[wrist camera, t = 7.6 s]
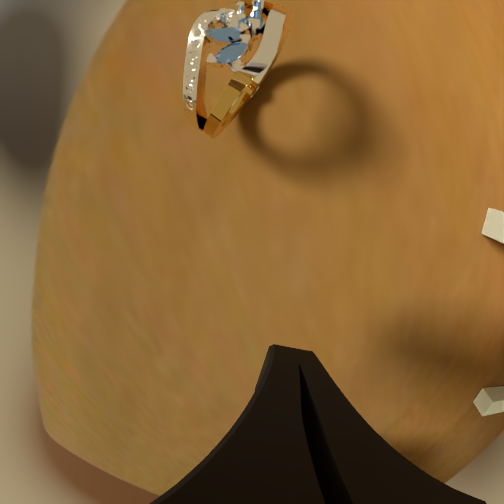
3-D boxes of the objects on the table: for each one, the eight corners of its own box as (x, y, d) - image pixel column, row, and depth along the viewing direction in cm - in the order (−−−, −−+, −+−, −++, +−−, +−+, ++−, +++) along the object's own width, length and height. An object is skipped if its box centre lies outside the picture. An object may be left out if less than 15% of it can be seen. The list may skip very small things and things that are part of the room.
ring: (261, 35, 13) (252, -46, 6) (306, 62, 14) (331, -11, 6) (192, 124, 15) (128, 92, 8) (237, 152, 16) (206, 138, 8)
